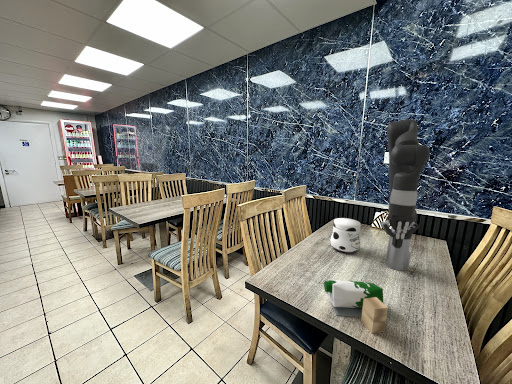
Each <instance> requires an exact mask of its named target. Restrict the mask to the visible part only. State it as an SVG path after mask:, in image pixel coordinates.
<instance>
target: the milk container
mask: <svg viewBox="0 0 512 384" xmlns="http://www.w3.org/2000/svg"><path fill="white" fill-rule="evenodd" d="M332 225H333V227H332V234H331V236H330V245H331V247H332V248H334V249H335V250H336V251H339V252H342V253H348V254H349V253H352V254H353V253H356V252H358V251H359V250H360V248H361V239H360V236H361V228H362V227H361V226H362V225H361V222H360V221H358V220H355V219H352V218H347V217H346V218H345V217H339V218H338V217H337V218H335V219H333V224H332Z"/></svg>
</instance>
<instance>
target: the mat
mask: <svg viewBox="0 0 512 384" xmlns="http://www.w3.org/2000/svg"><path fill="white" fill-rule="evenodd" d="M326 294H327V295H328V292H326ZM330 304H331V307H332V308H333V311H334V313H335V316H337V317H347V318H348V317H350V318H361V317H362V309H363V308H348V307H334V306H333V305H332V303H331V302H330Z"/></svg>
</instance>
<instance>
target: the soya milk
mask: <svg viewBox="0 0 512 384" xmlns="http://www.w3.org/2000/svg"><path fill="white" fill-rule="evenodd" d="M323 289H324V292H325V293H327V292H328V294H327V296H328V301H329V302H330V304H331V303H332V304H331V306H332V305H333V306H334V307H348V308H363V301H364V299H366V298H373V297H377V298H378V299H379V300H380V301H381V302H382V303H383V304H385V302H384V290H383V287H380V286H379V285H377V284H375V283H374V282H373V283H372V282H366V281H356V280H354V281H353V280H339V279H337V280H336V279H327V280H325V281H324V282H323ZM333 306H332V307H333Z"/></svg>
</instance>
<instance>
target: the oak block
mask: <svg viewBox="0 0 512 384" xmlns="http://www.w3.org/2000/svg"><path fill="white" fill-rule="evenodd" d="M388 310H389V307H388V306H387V305H386V304H385V303H384V304H383V303H382V302H381V301H380V300H379V299H378V298H377V297H373V298H366V299H364V301H363V309H362V317H360V318H361V319H360V322H361V323H362V324H363V325H364V326H365V328H366V329H367V330H368V331H369V332H370V334H375V333H381V332H385V330H386V324H387V317H388V312H389V311H388Z"/></svg>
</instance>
